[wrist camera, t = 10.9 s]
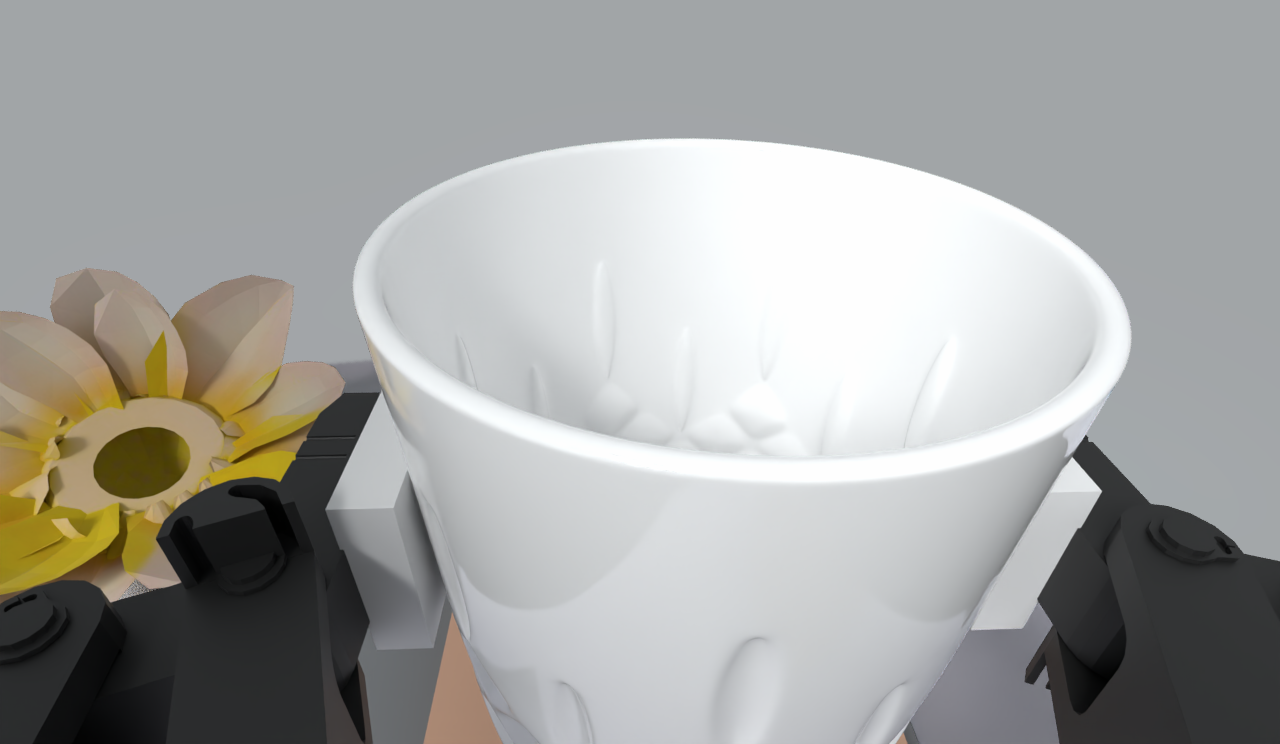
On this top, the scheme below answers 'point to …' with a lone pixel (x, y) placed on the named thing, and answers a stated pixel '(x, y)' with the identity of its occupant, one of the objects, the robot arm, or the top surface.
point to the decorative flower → (139, 420)
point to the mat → (416, 687)
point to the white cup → (726, 427)
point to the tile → (464, 700)
